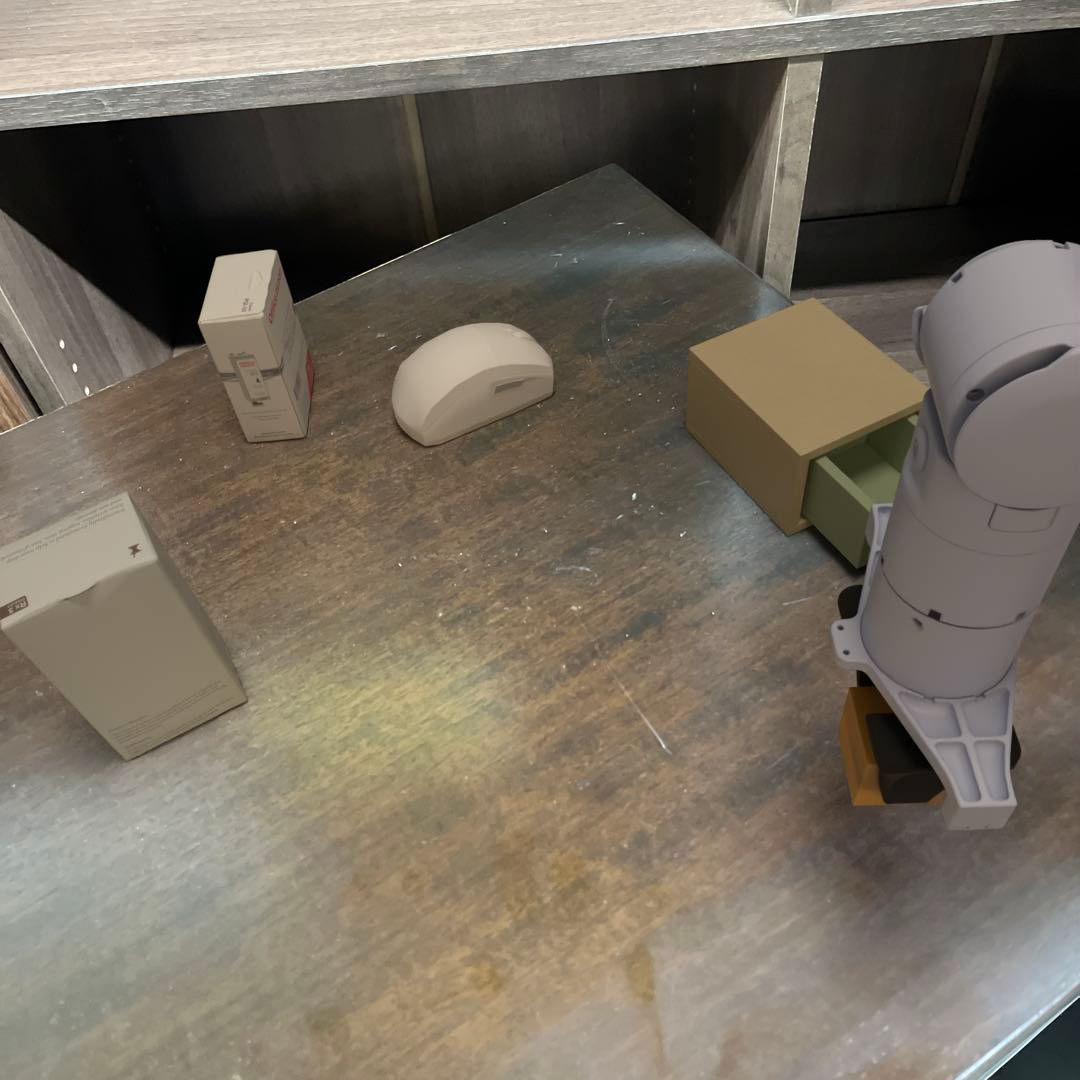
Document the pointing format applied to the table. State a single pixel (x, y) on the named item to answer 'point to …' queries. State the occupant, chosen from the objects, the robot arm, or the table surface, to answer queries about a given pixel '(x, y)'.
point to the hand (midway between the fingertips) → (893, 750)
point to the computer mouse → (469, 381)
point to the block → (863, 745)
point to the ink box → (258, 345)
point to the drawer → (856, 485)
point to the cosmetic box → (116, 627)
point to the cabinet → (790, 400)
